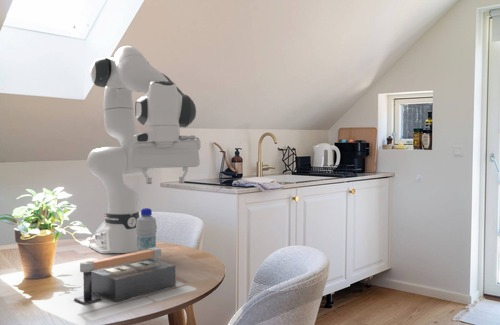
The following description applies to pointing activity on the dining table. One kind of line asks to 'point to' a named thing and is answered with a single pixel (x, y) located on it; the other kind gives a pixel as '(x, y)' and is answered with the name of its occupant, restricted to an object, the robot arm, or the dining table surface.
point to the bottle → (146, 230)
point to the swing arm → (119, 259)
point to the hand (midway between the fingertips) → (165, 183)
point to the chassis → (133, 279)
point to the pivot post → (87, 291)
